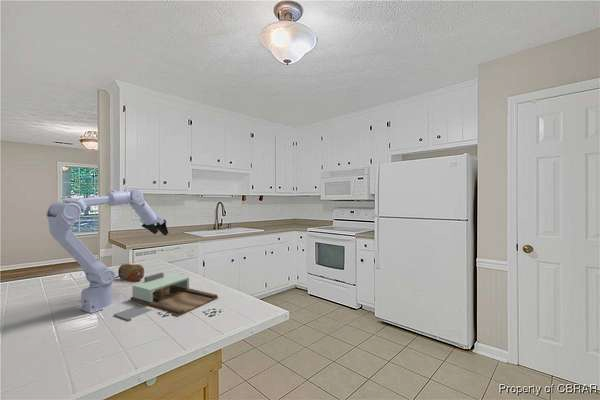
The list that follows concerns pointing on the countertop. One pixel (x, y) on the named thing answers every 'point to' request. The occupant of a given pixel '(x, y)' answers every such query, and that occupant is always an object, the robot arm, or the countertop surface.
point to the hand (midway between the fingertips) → (161, 233)
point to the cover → (157, 285)
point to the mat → (132, 312)
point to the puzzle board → (178, 300)
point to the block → (162, 292)
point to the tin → (131, 272)
